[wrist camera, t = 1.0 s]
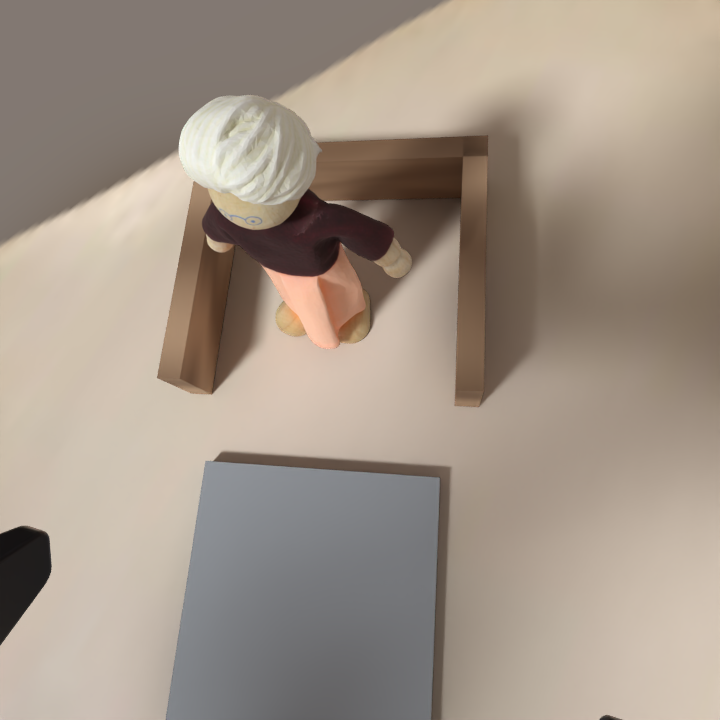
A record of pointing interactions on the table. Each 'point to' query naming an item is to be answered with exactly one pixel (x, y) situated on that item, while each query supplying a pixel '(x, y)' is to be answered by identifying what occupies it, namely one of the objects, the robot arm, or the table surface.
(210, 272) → the walnut stall
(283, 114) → the grandmother figurine
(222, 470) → the slate mat
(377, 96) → the table surface
